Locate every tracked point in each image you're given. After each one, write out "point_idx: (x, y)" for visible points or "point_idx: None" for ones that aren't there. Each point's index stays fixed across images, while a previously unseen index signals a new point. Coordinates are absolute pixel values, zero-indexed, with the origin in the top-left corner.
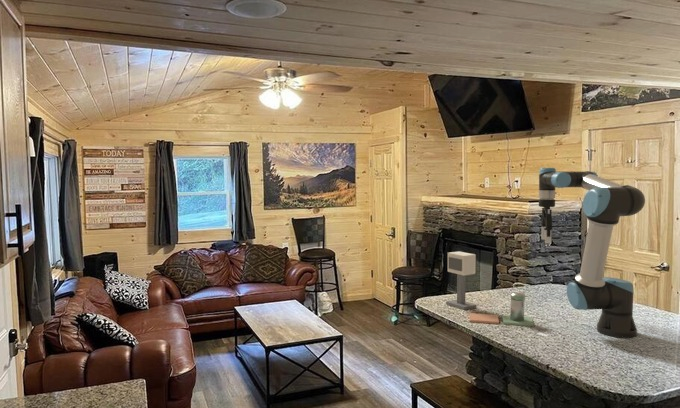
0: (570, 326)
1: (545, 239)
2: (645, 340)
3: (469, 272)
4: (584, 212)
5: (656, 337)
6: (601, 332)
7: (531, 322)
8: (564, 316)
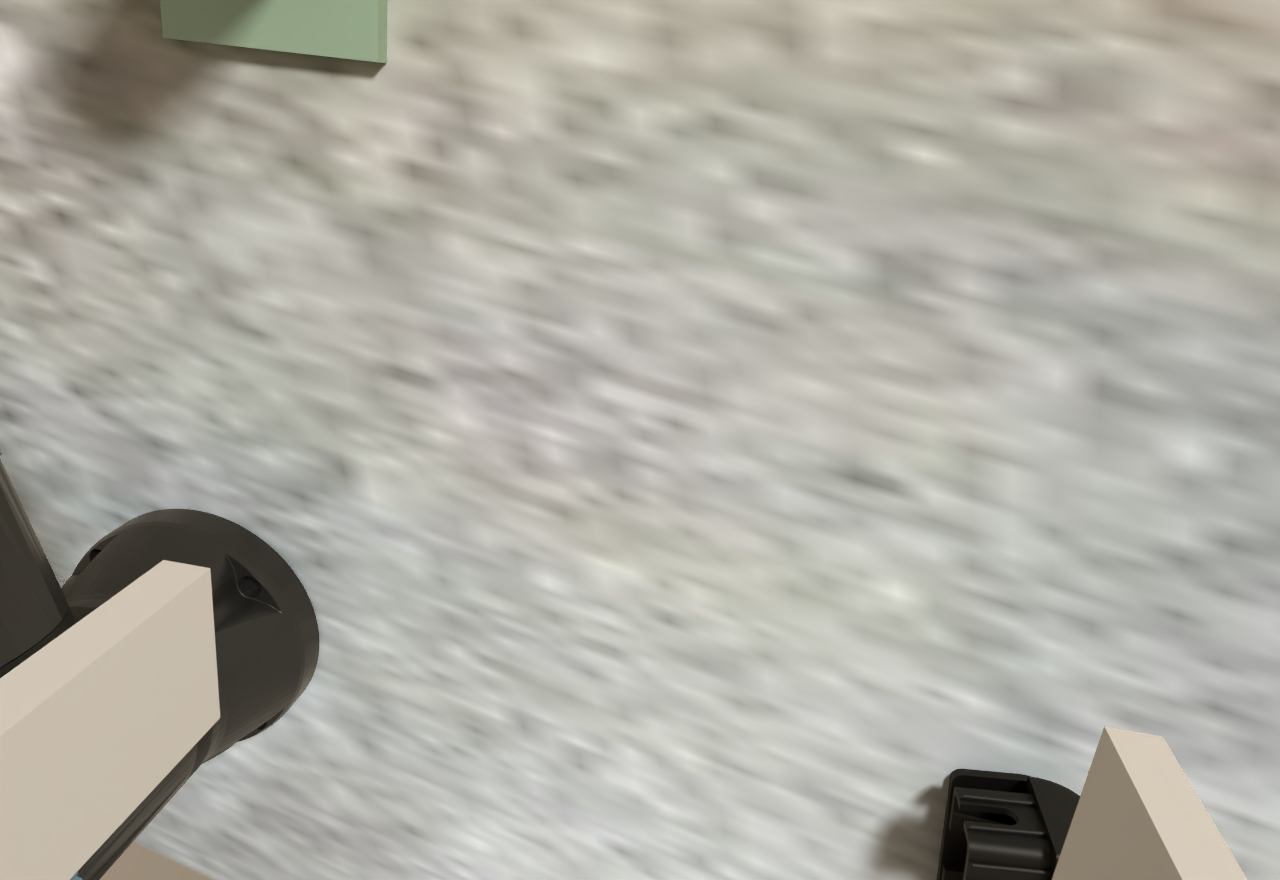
0: (258, 357)
1: (76, 629)
2: None
3: None
4: None
5: None
6: (140, 516)
7: (204, 26)
8: (537, 400)
